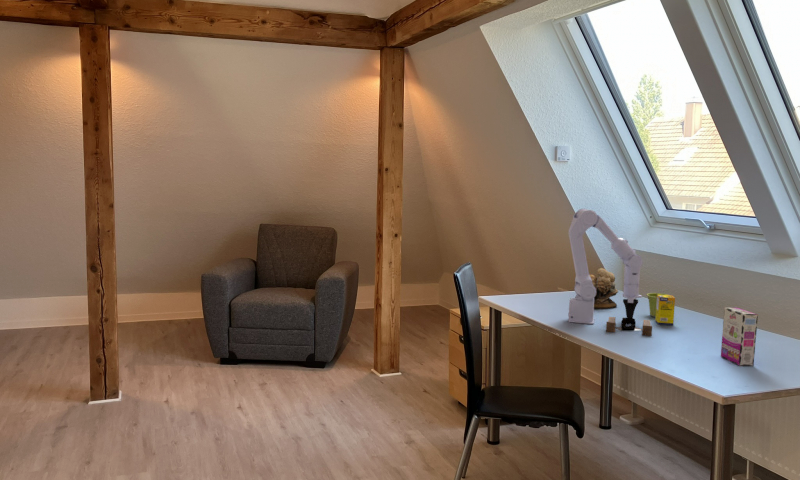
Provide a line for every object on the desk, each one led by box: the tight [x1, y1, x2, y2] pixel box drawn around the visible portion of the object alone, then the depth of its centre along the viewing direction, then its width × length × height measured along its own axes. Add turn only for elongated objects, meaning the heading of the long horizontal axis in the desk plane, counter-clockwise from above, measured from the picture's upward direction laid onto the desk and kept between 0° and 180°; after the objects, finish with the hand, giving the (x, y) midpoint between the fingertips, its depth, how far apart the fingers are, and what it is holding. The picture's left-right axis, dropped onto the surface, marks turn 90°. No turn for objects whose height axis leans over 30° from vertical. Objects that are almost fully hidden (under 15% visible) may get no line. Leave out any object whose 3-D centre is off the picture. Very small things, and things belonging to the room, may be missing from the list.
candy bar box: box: [720, 307, 759, 367], centre depth 217 cm, size 11×5×16 cm, turn 5°
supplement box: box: [654, 294, 676, 326], centre depth 269 cm, size 6×6×11 cm
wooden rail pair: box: [605, 316, 653, 337], centre depth 258 cm, size 16×14×4 cm
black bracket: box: [615, 317, 643, 332], centre depth 259 cm, size 12×7×5 cm, turn 101°
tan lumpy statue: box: [589, 267, 619, 310], centre depth 300 cm, size 18×12×17 cm, turn 107°
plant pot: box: [646, 292, 669, 318], centre depth 283 cm, size 9×9×9 cm
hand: (629, 317), depth 270 cm, fingers closed
